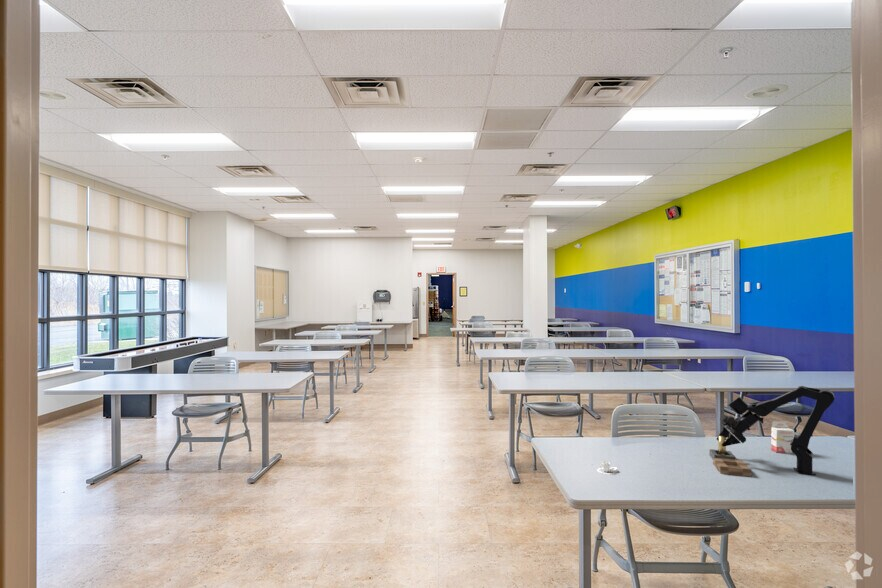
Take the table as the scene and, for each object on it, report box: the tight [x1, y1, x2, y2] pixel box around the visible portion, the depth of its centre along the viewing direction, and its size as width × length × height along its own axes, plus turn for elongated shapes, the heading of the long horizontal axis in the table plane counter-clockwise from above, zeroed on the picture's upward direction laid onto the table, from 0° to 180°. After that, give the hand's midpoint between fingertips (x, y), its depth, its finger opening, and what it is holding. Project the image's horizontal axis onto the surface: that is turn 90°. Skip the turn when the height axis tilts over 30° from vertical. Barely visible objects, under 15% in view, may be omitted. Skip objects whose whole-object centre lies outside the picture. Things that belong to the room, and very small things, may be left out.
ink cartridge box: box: [770, 421, 795, 454], centre depth 243 cm, size 9×5×15 cm, turn 84°
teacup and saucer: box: [596, 461, 619, 475], centre depth 215 cm, size 9×8×4 cm
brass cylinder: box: [717, 435, 727, 455], centre depth 231 cm, size 3×3×11 cm
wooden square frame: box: [712, 458, 752, 477], centre depth 217 cm, size 12×12×3 cm
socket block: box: [709, 448, 737, 460], centre depth 231 cm, size 9×9×3 cm
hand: (719, 442), depth 231 cm, fingers open, 9 cm apart
